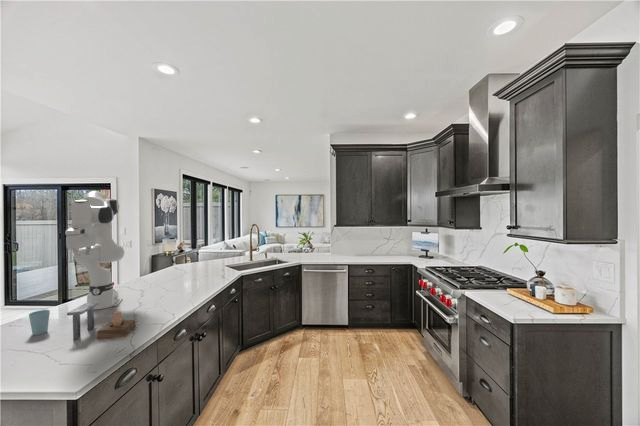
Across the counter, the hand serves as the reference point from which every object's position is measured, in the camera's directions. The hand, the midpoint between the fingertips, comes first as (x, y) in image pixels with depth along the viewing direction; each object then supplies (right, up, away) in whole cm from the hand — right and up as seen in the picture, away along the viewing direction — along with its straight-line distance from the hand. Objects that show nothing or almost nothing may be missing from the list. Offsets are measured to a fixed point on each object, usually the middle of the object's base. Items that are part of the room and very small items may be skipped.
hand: (82, 256), depth 157 cm
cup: (-15, -38, -8) cm, 41 cm away
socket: (+25, -37, -10) cm, 46 cm away
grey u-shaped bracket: (+9, -37, -10) cm, 39 cm away
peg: (+25, -37, -10) cm, 46 cm away
